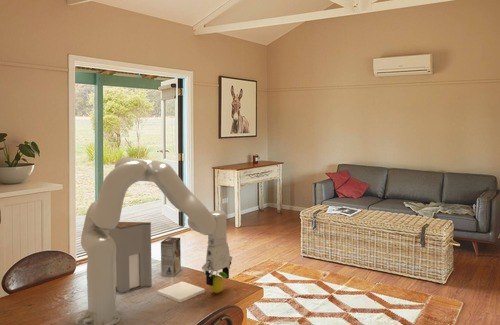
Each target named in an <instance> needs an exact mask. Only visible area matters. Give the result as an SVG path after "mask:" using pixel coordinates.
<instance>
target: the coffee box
mask: <svg viewBox="0 0 500 325" xmlns="http://www.w3.org/2000/svg"><path fill="white" fill-rule="evenodd" d="M181 251H182V250H181V237H173V236H172V237H171V236H168V237H167V238H165V239H164V240H161V242H160V266H161V268H160V271H161V274H160V275H161V276H162V277H172V278H173V277H175V276H176V275H177V274H179V272H180V271H182V268H181V267H182V266H181V264H182V263H181V262H182V261H181V258H182V256H181V254H182V253H181Z"/></svg>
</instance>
